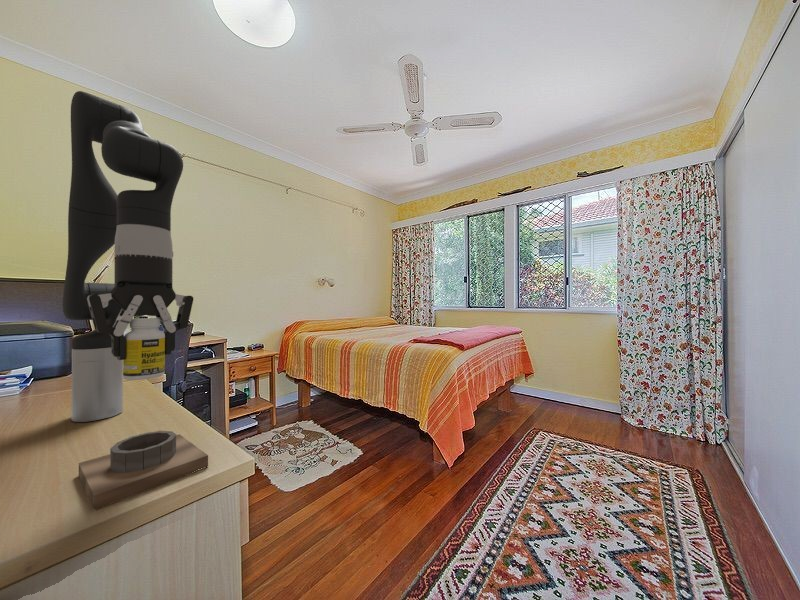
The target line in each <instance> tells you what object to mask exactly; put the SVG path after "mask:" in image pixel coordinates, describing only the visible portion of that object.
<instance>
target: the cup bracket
mask: <svg viewBox="0 0 800 600" xmlns="http://www.w3.org/2000/svg"><path fill="white" fill-rule="evenodd" d="M109 449H110V453H109V454H106V455H102V456H100V457H95V458H92V459H88V460H85V461H82V462H79V463H78V478H79V479H80V483H82V486H83V488H84V491H85V493H86V495H87V497H88V500H89V502H90V505H91V507H92V509H93V511H96V510H99V509H102V508H105V507H107V506H109V505H113V504H115V503H118V502H120V501H122V500H126V499H127V498H130V497H133V496H135V495H138V494H141V493H144V492H146V491H149V490H152V489H154V488H157V487H159V486H162V485H165V484H168V483H170V482H173V481H175V480H177V479H178V480H179V479H180V478H183V477H185V475H186V476H188V475H190V473H191V474H193V473H192V472H194V471H196V470H198V469H201V468H203V467H206V466H208V467H209V454H207V453H206V452H205V451H204V450H202V449H200V448H199V447H197V445H195V444H194V443H192V442H191V441H189V440H188V439H187V438H186V437H184V436H183V435H181V434H177V433H175V432H174V431H172V430H171V431H170V430H168V431H167V430H158V431H157V430H156V431H155V430H154V431H148V432H144V433H143V432H142V433H140V434H136V435H132V436H130V437H129V436H128V437H127V438H125V439H122V440H120V441H118V442H116V443H114V445H112V446H111V447H110V448H109ZM201 470H202V469H201ZM196 472H197V471H196ZM194 473H195V472H194ZM187 474H188V475H187Z"/></svg>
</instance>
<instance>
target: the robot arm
mask: <svg viewBox="0 0 800 600" xmlns="http://www.w3.org/2000/svg"><path fill="white" fill-rule="evenodd" d="M70 134H71V135H70V137H71V139H70V140H71V142H70V143H71V147H70V148H71V176H70V189H69V190H70V191H69V201H68V210H67V211H68V213H67V214H68V215H67V234H68V235H67V237H68V238H67V242H68V243H67V246H68V247H67V260H66V261H67V262H66V269H65V279H64V284H63V292H62V293H63V294H62V311H63V315H64V316H65V318H66V319H67V320H69V321H92V324H93V327H94V329H93V330H91V331H89V332H85V333H82V334H79V335H76V336H74V337H73V338H72V339H71V405H70V406H71V412H70V413H71V414H70V415H71V418H70V420H71V421H72V422H75V423H85V422H93V421H98V420H103V419H108V418H111V417H115V416H117V415H119V414H121V413H122V412H123V410H124V406H123V404H124V399H123V398H124V378H123V360H125V358H126V336H124V335H125V332H126V330H127V328H128V326H129V325H130V322H131V320H132V319H134V317H143V316H147V317H155V318H160V324H161V325H160V327H162V329H163V332H164V333H165V356H166V355H171V354H172V351H175V348H176V334H177V331H179V330H182V329H185V328H187V327H188V326H189V321H190V316H191V312H192V308H193V304H194V296H192V295H182V294H176V291H175V290H174V288H173V258H174V251H173V240H172V232H171V230H172V229H171V228H172V227H171V225H172V224H171V223H172V222H171V221H172V220H171V219H172V218H171V217H172V214H171V212H172V204H173V199H174V197H175V191H176V189H177V186H178V183H179V182H180V179H181V177H182V173H183V170H184V161H183V160H184V159H183V158H182V155H181V153H180V152H179V150H178V149H177V148H176V147H175V146H173V145H172V144H169V143H166V142H164V141H160V140H158V139H154V138H152V137H151V136H150V135H149V134H148V133H147V132H146V131H145V129H144V125H143V124H142V120H141V119H140V117H139V115H137V114H136V113H135V112H134V111H133V110H131V109H129V108H128V107H126V106H124V105H121V104H118V103H115V102H113V101H110V100H107V99H105V98H102V97H99V96H97V95H94V94H91V93H89V92H85V91H83V90H78V91H76V92H75V93H73V96H72V98H71V103H70ZM93 142H95V143H98V144H100V145H101V147H100V149H101V150H100V151H101V157H102V159H103V163H104V164H105V165H106V167H107V168H108V169H110V170H111V171H112V172H115V173H117V174H119V175H121V176H122V175H123V176H125V177H129V178H133V179H138V180H141V181H146V182H150V183H153V184H155V188H154V189H148V190H146V189H145V190H142V189H127V190H121V191H120V192H119V193H117V192H116V190H115V189H114V187H113V186H112V184H111V183H110V182H109V180H108V179H107V177H106V176H105V174H104V172H103V170H102V168H101V167H100V165H99V163H98V160H97V158H96V156H95V152H94V148H93ZM113 246H114V283H108V282H107V283H104V282H101V283H100V282H86V280H87V276H88V274H89V272H90V270H91V269H92V268H93V267H94V265H95V263H97V261H98V260H99V259H100V258H101V257H103V255H105V254H106V253H107V252H108V251H109V250H110V249H111V248H112V247H113ZM174 301H175V302H176V306H177V307H178V311H177V315H176V320H175V322H173V320H172V316H171V313H170V311H169V310H168V308H169V306H171V304H172V303H173V302H174Z"/></svg>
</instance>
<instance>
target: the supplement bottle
mask: <svg viewBox="0 0 800 600" xmlns="http://www.w3.org/2000/svg"><path fill="white" fill-rule="evenodd" d="M128 326H129V328H130V331H128V332H126V333H124V336H126V358H125V360H123V380H127V381H142V380H143V381H144V380H150V379H155V378H159V377H162V376H163V375H164V374H165V372H166V371H165V370H166V355H165V333H164V331H162V330H160V327H161V324H160V318H156V317H155V318H154V317H150V318H149V317H148V318H147V317H146V318H144V317H143V318H132V320H131V322H130V323H129V324H128Z"/></svg>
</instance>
